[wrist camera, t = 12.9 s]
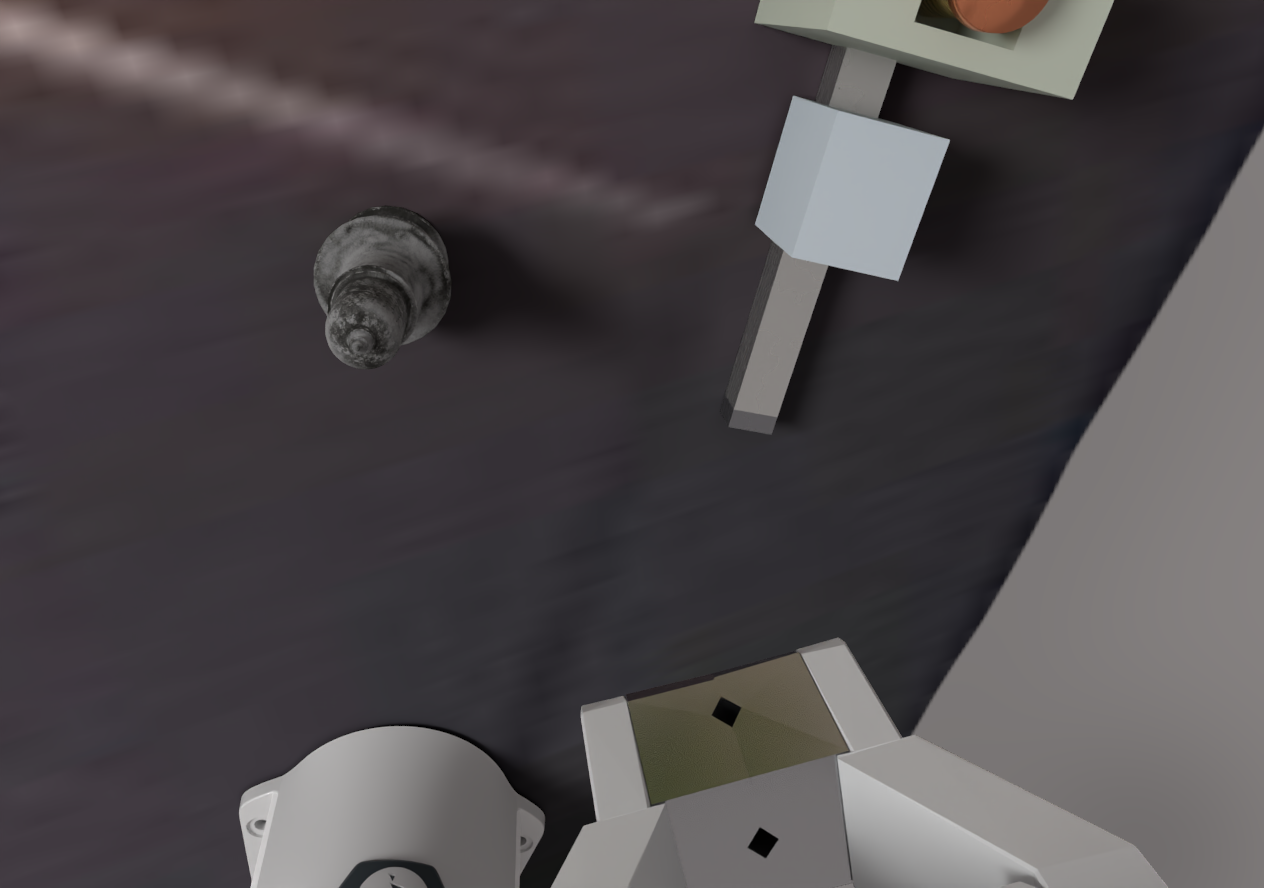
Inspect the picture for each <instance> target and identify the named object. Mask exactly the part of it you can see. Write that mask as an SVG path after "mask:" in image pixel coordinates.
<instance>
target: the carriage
mask: <svg viewBox="0 0 1264 888" xmlns="http://www.w3.org/2000/svg"><path fill="white" fill-rule="evenodd" d="M949 142H950V140H949V139H945V138H942V137H939V136H936V135H933V134H929V133H926V132H923V131H920V130H917V129H914V128H910V127H907V126H904V125H901V124H897V123H894V122H891V121H888V120H884V119H880V118H878V119H877V118H873V117H869V116H866V115H862V114H858V113H854V112H850V111H847V110H843V109H839V108H835V107H831V106H828V105H824V104H821V103H818V102H815V101H812V100H808V99H804V98H800V97H797V96H793V98H792V102H791V105H790V109H789V112H788V115H787V119H786V122H785V125H784V129H783V132H782V135H781V139H780V142H779V146H778V149H777V152H776V156H775V159H774V162H773V166H772V169H771V172H770V176H769V179H768V183H767V186H766V189H765V193H764V196H763V199H762V203H761V206H760V210H759V213H758V216H757V220H756V223H755V225H756V226H757V227H758V228H760V229H761V230H762V231H763V232H764V233H765V234H766V235H767V236H768V237H769V238H770V239H771V240H773V241H774V242H775V243H776V244H777V245H778V246H779V247H780V248H782V249H783V250H784V251H785V252H786V253H787V254H788V255H790V256H791V257H792V258H797V259H802V260H806V261H811V262H815V263H820V264H824V265H829V266H833V267H838V268H842V269H847V270H851V271H856V272H860V273H865V274H869V275H874V276H878V277H883V278H887V279H892V280H896V281H898V280H899V277H900V274H901V272H902V269H903V266H904V263H905V261H906V258H907V255H908V253H909V250H910V247H911V245H912V242H913V239H914V236H915V234H916V231H917V228H918V226H919V223H920V220H921V218H922V215H923V212H924V209H925V207H926V204H927V201H928V199H929V196H930V193H931V190H932V188H933V185H934V182H935V180H936V177H937V174H938V172H939V169H940V166H941V163H942V161H943V158H944V155H945V153H946V150H947V147H948V144H949Z"/></svg>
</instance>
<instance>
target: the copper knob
mask: <svg viewBox="0 0 1264 888" xmlns="http://www.w3.org/2000/svg"><path fill="white" fill-rule="evenodd" d="M1048 1H1049V0H921V3H920V6H919V9H918V12H917V14H918V15H920V16H924V17H935V18H956V19H958V21H959V22H961V23H962V24H963V25H964V26H966V27H967V28H969V29H971V30H974V31H978V32H984V33H1007V32H1011V31H1014V30H1017V29H1019V28H1021V27H1023V26H1024V25H1026V24H1027V23H1029V22H1030V21H1032V20H1033V19H1034V18H1035V17H1036V16H1037V15H1038V14H1039V13H1040V12H1041V11H1042V9H1043V8H1044V7H1045V5H1046V4H1047V2H1048Z"/></svg>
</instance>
